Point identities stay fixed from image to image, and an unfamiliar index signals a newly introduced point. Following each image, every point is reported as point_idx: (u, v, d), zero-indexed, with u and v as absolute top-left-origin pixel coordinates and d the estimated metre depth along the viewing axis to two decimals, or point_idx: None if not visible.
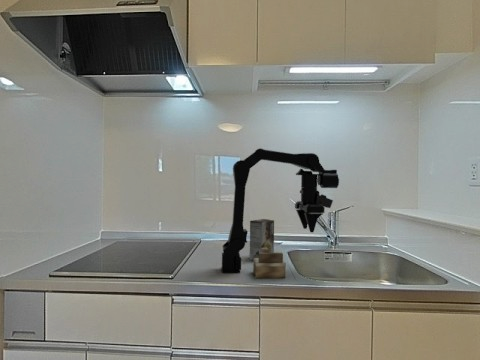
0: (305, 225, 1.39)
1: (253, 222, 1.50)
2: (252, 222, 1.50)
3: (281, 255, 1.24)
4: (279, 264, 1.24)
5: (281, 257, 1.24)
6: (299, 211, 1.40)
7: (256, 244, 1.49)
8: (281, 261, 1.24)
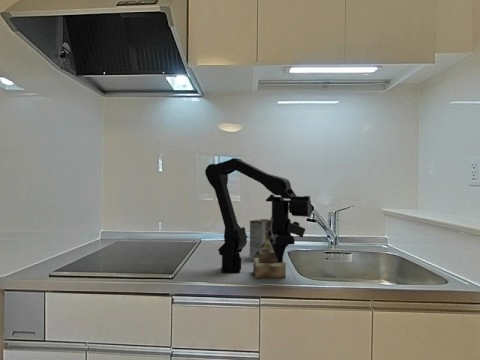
0: None
1: (253, 222, 1.50)
2: (252, 222, 1.50)
3: None
4: (279, 264, 1.24)
5: None
6: (272, 241, 1.27)
7: (256, 244, 1.49)
8: None
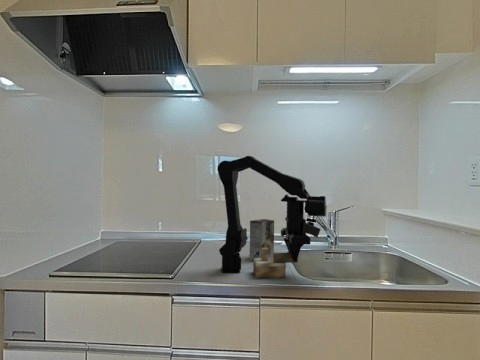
0: None
1: (253, 222, 1.50)
2: (252, 222, 1.50)
3: None
4: (279, 264, 1.24)
5: None
6: (287, 241, 1.27)
7: (256, 244, 1.49)
8: None
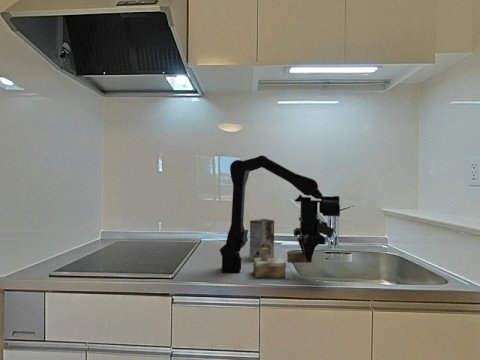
0: None
1: (253, 222, 1.50)
2: (252, 222, 1.50)
3: None
4: (279, 264, 1.24)
5: None
6: (300, 241, 1.27)
7: (256, 244, 1.49)
8: None
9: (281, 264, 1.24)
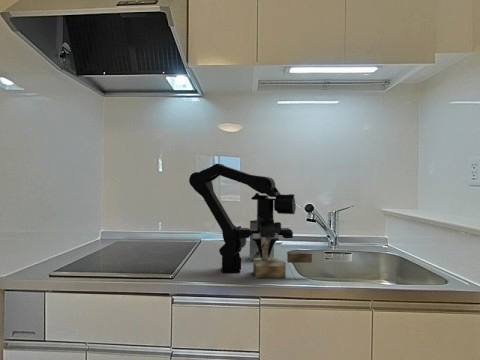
0: None
1: (253, 222, 1.50)
2: (252, 222, 1.50)
3: (310, 255, 1.25)
4: (279, 264, 1.24)
5: (310, 257, 1.25)
6: (268, 238, 1.31)
7: None
8: (310, 261, 1.25)
9: (281, 264, 1.24)
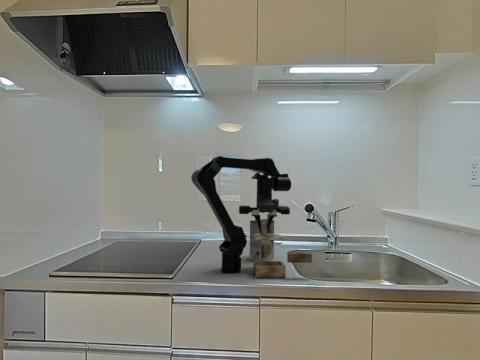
0: None
1: (253, 222, 1.50)
2: (252, 222, 1.50)
3: (310, 255, 1.25)
4: (277, 238, 1.34)
5: (310, 257, 1.25)
6: (267, 215, 1.41)
7: (256, 244, 1.49)
8: (310, 261, 1.25)
9: (279, 238, 1.34)
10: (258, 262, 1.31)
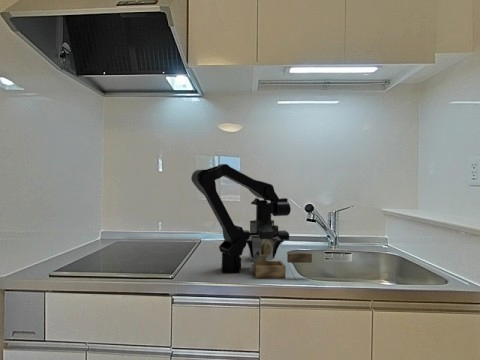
0: (273, 254, 1.39)
1: (253, 222, 1.50)
2: (252, 222, 1.50)
3: (310, 255, 1.25)
4: None
5: (310, 257, 1.25)
6: (274, 239, 1.41)
7: (256, 244, 1.49)
8: (310, 261, 1.25)
9: None
10: (258, 262, 1.31)
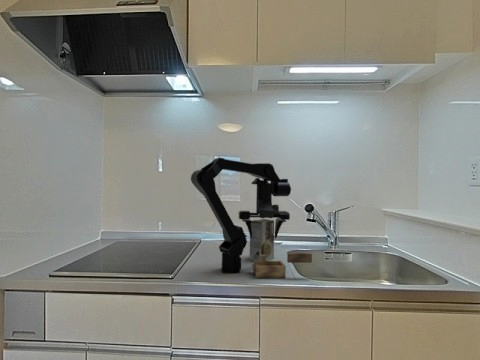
0: (275, 234, 1.39)
1: (253, 222, 1.50)
2: (252, 222, 1.50)
3: (310, 255, 1.25)
4: None
5: (310, 257, 1.25)
6: (276, 220, 1.41)
7: (256, 244, 1.49)
8: (310, 261, 1.25)
9: None
10: (258, 262, 1.31)
